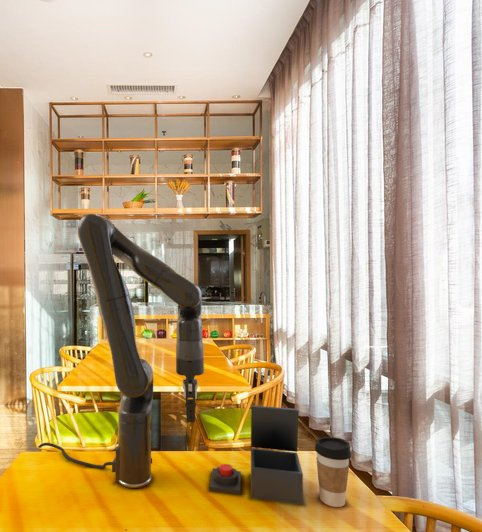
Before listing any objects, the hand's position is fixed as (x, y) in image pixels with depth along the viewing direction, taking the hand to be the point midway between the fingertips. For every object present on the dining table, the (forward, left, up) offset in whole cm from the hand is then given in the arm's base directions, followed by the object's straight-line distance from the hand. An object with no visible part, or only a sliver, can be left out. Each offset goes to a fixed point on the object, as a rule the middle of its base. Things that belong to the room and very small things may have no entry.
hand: (190, 416), depth 107 cm
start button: (+9, +4, -16) cm, 19 cm away
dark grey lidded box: (+22, +4, -19) cm, 30 cm away
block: (+9, +4, -19) cm, 22 cm away
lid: (+22, +8, -5) cm, 24 cm away
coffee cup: (+36, +2, -19) cm, 41 cm away
